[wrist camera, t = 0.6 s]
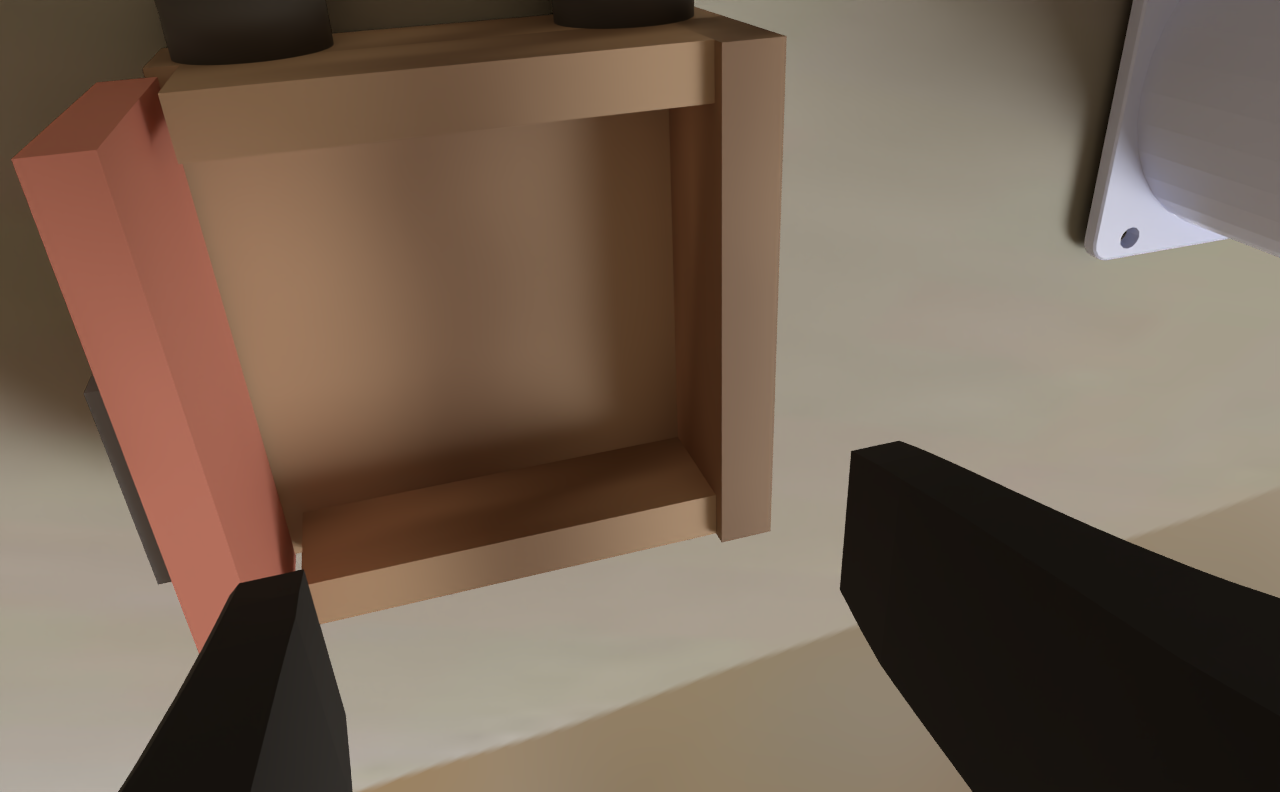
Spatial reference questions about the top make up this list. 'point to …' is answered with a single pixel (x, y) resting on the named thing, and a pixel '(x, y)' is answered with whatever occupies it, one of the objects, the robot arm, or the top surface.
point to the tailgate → (156, 346)
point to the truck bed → (490, 278)
